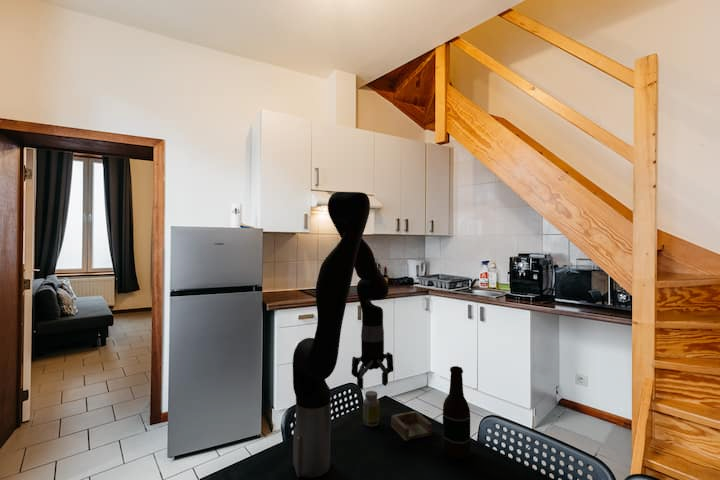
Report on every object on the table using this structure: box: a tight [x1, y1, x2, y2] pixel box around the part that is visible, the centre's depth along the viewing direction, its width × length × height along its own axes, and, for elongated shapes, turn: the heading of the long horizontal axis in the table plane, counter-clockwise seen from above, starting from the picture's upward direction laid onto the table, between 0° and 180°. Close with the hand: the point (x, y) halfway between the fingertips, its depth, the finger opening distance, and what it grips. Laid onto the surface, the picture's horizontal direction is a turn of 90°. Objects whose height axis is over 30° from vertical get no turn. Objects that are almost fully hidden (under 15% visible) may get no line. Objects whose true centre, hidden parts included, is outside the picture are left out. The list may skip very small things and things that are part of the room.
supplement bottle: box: [362, 390, 380, 427], centre depth 116 cm, size 5×5×10 cm
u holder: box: [390, 410, 433, 442], centre depth 112 cm, size 9×9×4 cm
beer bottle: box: [442, 365, 471, 460], centre depth 100 cm, size 8×8×24 cm
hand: (372, 386), depth 116 cm, fingers open, 8 cm apart
